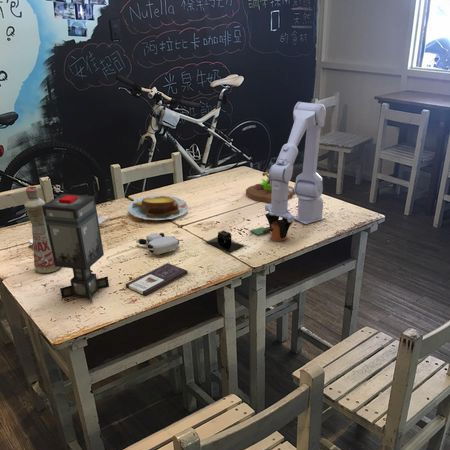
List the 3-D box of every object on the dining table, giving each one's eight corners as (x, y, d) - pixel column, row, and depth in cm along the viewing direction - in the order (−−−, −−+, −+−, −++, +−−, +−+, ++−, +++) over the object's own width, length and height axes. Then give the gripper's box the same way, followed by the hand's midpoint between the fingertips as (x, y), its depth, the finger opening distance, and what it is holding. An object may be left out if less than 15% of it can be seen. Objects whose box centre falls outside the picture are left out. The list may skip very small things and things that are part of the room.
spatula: (281, 223, 198) (281, 221, 198) (288, 227, 194) (288, 225, 194) (250, 231, 192) (250, 229, 191) (257, 236, 188) (257, 234, 188)
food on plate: (179, 198, 225) (178, 184, 222) (197, 217, 205) (196, 202, 202) (122, 207, 217) (120, 192, 214) (135, 227, 198) (133, 211, 194)
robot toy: (134, 248, 183) (154, 260, 172) (132, 236, 181) (152, 247, 170) (164, 239, 189) (185, 250, 178) (163, 228, 187) (184, 238, 176)
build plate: (244, 246, 181) (244, 234, 178) (229, 253, 176) (229, 241, 174) (219, 236, 188) (219, 225, 186) (205, 243, 184) (204, 231, 181)
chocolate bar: (187, 270, 163) (145, 292, 152) (187, 273, 164) (145, 295, 152) (167, 262, 168) (125, 283, 157) (167, 265, 169) (126, 286, 157)
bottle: (68, 263, 172) (51, 182, 158) (54, 275, 165) (35, 191, 151) (44, 261, 174) (26, 181, 160) (30, 273, 167) (9, 190, 152)
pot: (279, 234, 189) (280, 217, 185) (288, 239, 185) (289, 221, 181) (258, 240, 185) (258, 222, 181) (266, 245, 181) (267, 227, 177)
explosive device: (80, 282, 160) (62, 190, 145) (109, 286, 158) (94, 193, 142) (62, 298, 152) (40, 202, 137) (92, 303, 149) (74, 205, 134)
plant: (238, 194, 227) (237, 170, 222) (268, 184, 239) (268, 160, 233) (271, 205, 215) (271, 179, 209) (301, 194, 226) (302, 169, 220)
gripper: (258, 195, 182) (258, 230, 189) (282, 207, 171) (281, 244, 178) (274, 191, 185) (273, 226, 192) (299, 202, 174) (297, 239, 181)
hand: (278, 234), depth 185 cm, fingers closed on pot, 5 cm apart
